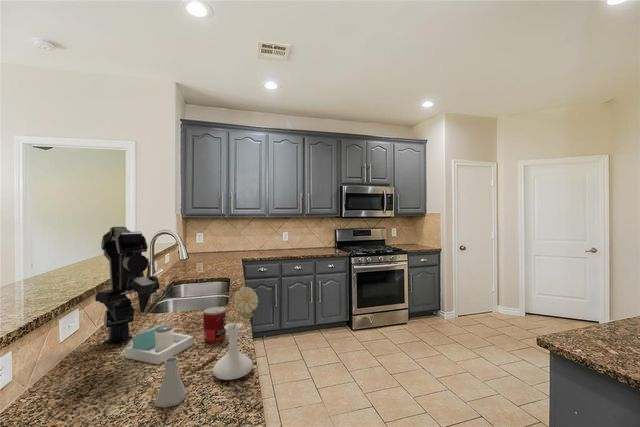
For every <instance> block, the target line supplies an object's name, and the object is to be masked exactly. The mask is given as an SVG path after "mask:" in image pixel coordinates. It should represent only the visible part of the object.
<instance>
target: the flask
mask: <svg viewBox="0 0 640 427" xmlns="http://www.w3.org/2000/svg"><path fill="white" fill-rule="evenodd" d="M178 360H179V357H178V356H173V357H169V358H167V359H165V361H164V362H163V364H164V365H165V366H164V368H165V370H164V375H163V379H162V381H161V384H160V387H159V390H158V393H157V396H156V398H155V403H154V407H157V408H158V407H159V408H169V407H175V406H177V405H180V403H182V402H183V401H184V400H185V399H186V398H187V389H186V386H185V385H184V383H183V381H182V378H181V376H180V373H179V371H178V370H179V369H178Z"/></svg>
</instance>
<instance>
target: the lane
mask: <svg viewBox="0 0 640 427" xmlns="http://www.w3.org/2000/svg"><path fill="white" fill-rule="evenodd" d="M192 346H194V335H188V334H182V333H176V332H173V346H171V347H169V348H167V349H165V350H163V351H161V352H159V353H156V352H155V346H154V347H151V348H149V349H147V350H140V349H135V348H133V344H132V345H130V346H128V347H126V348H125V359H131V360H134V361H140V362H144V363H149V364H153V365H159V364H161V363H162V364H163V363H164V361H165V359H167V358H169V357H175V356H176V355H178V354H180V353H181V352H183V351H185V350H187V349H188V348H191V347H192Z"/></svg>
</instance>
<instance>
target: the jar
mask: <svg viewBox="0 0 640 427" xmlns="http://www.w3.org/2000/svg"><path fill="white" fill-rule="evenodd" d="M158 326H159V325H158ZM156 327H157V326H156ZM173 333H174V327H173V325H172V324H167V325H163V326H159V327H157V328H156V330H155V352H156V353H159V352H161V351H163V350H165V349H167V348H169V347H171V346H173Z"/></svg>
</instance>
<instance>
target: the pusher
mask: <svg viewBox="0 0 640 427" xmlns="http://www.w3.org/2000/svg"><path fill="white" fill-rule="evenodd" d="M163 325H168V324H167V323H161V324H159V325H157V326H154V327H152V328H150V329H147V330H145V331H142V332H140V333H137V334H135V335H132V345H133V348H135V349H140V350H147V349H149V348H151V347H154V346H155V330H156V328H157V327H159V326H163Z"/></svg>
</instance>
